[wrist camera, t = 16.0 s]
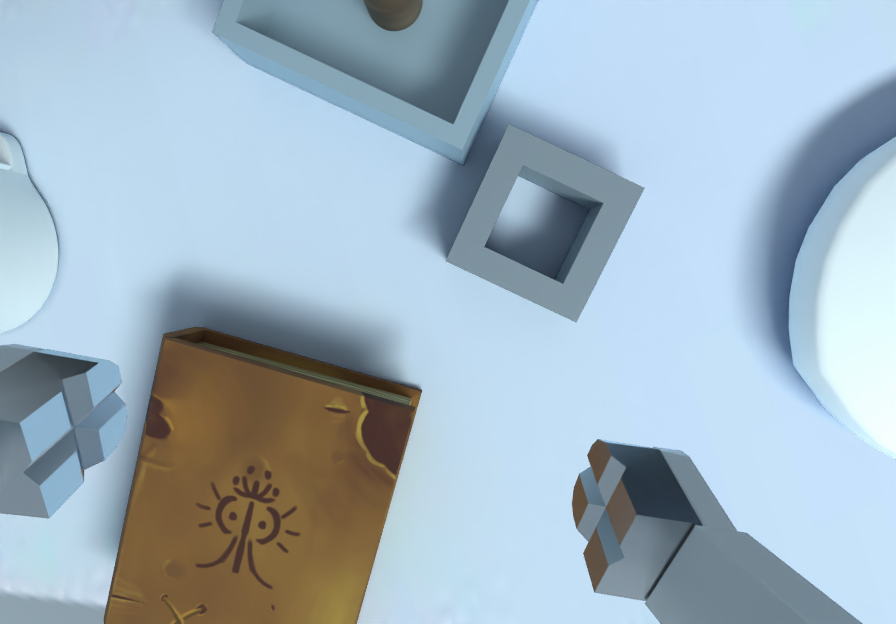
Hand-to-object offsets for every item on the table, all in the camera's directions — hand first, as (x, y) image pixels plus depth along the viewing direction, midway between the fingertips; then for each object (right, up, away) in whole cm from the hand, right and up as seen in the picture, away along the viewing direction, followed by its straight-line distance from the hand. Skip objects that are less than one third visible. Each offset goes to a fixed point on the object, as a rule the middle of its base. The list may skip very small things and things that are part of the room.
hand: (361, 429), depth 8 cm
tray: (-2, +24, +25) cm, 35 cm away
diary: (-13, -13, +30) cm, 35 cm away
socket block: (+8, +8, +26) cm, 28 cm away
